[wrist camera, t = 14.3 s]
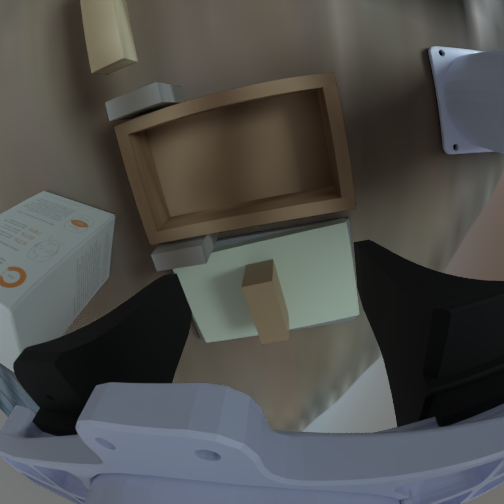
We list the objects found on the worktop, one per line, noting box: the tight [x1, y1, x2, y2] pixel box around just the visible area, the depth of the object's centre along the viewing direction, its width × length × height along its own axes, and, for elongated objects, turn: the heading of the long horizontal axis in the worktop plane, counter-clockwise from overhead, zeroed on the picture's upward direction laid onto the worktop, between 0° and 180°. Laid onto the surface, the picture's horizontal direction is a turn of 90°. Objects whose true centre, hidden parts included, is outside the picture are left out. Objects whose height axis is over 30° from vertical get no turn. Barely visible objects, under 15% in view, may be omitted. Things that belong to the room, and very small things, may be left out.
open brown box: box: [105, 72, 356, 271], centre depth 18 cm, size 13×11×4 cm
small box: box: [0, 191, 115, 372], centre depth 18 cm, size 8×6×13 cm
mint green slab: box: [173, 218, 359, 345], centre depth 22 cm, size 13×8×4 cm, turn 106°
